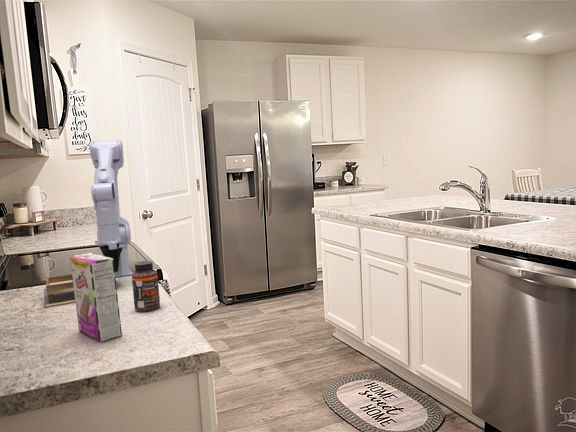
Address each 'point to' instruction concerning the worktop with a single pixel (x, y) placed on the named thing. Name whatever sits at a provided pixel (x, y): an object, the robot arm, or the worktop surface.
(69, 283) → the shallow wooden tray
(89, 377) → the worktop surface
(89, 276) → the candy bar box
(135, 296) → the supplement bottle
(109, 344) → the worktop surface
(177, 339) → the worktop surface
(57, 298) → the plate
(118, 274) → the block
